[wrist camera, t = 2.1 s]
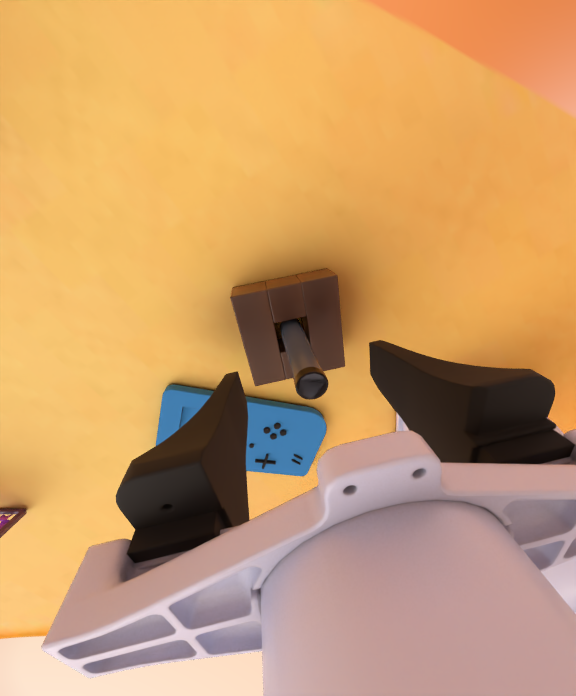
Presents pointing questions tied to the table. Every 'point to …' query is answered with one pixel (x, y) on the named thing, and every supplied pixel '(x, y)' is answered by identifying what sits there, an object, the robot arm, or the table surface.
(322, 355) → the brown block with hole
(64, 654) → the robot arm
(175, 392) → the handheld gaming device
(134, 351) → the table surface
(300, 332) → the dark grey cylinder rod
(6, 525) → the purple frame with figurine
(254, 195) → the table surface
